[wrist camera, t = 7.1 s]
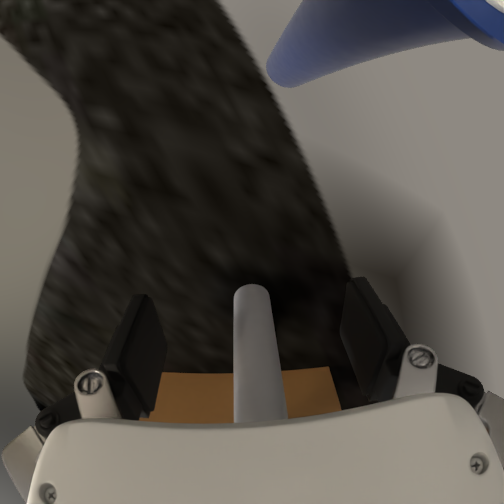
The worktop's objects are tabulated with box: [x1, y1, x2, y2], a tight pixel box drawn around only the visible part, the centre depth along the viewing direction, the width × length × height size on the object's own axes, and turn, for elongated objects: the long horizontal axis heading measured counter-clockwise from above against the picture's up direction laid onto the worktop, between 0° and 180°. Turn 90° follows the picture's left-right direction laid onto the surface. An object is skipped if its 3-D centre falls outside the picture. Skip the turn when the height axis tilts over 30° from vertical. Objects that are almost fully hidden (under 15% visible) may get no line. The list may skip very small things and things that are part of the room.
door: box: [138, 284, 342, 424], centre depth 13 cm, size 8×12×13 cm, turn 91°
